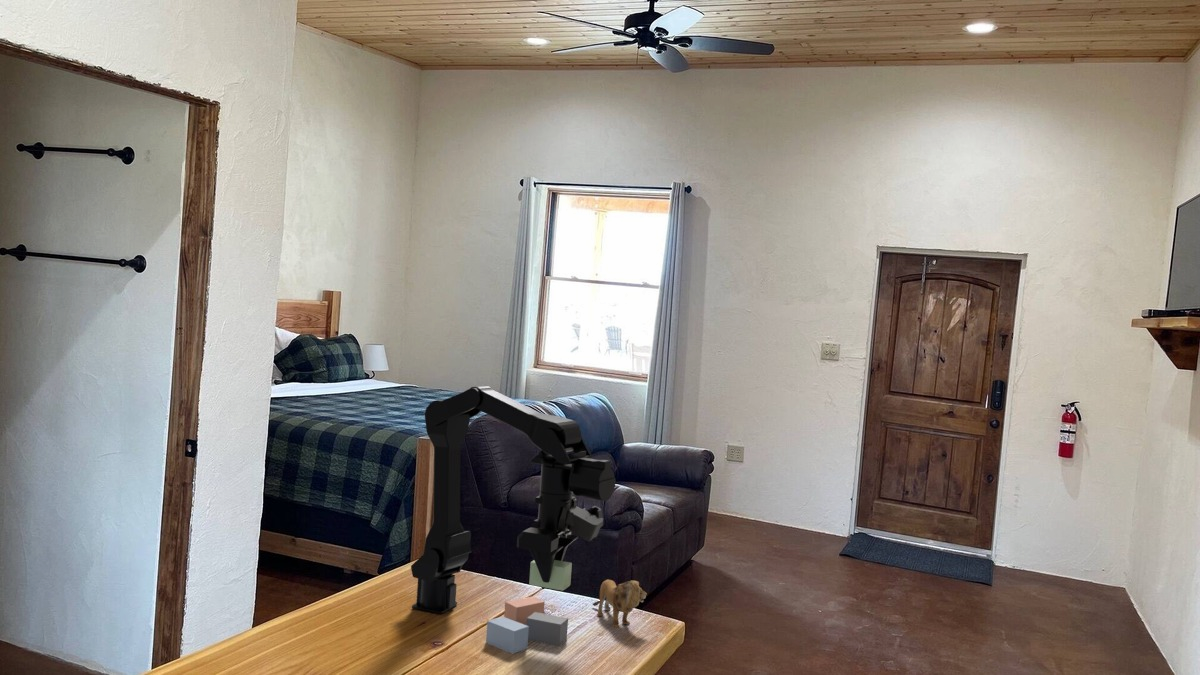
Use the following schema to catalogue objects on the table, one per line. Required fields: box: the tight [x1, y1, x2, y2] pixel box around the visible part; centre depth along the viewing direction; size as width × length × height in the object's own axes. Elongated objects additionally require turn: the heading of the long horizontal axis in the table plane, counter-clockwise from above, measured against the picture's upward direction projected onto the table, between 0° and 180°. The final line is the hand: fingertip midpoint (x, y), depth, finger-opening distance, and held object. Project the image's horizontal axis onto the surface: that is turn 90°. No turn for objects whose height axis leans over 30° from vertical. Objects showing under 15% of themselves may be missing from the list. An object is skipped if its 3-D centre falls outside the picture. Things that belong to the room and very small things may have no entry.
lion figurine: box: [592, 579, 648, 628], centre depth 177 cm, size 15×5×9 cm, turn 35°
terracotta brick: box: [503, 595, 546, 625], centre depth 172 cm, size 6×4×4 cm, turn 131°
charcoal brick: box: [527, 612, 569, 647], centre depth 164 cm, size 6×4×4 cm, turn 71°
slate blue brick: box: [485, 616, 529, 655], centre depth 160 cm, size 6×4×4 cm, turn 51°
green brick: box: [528, 559, 573, 591], centre depth 164 cm, size 6×4×4 cm, turn 71°
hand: (550, 579), depth 164 cm, fingers closed on green brick, 4 cm apart
